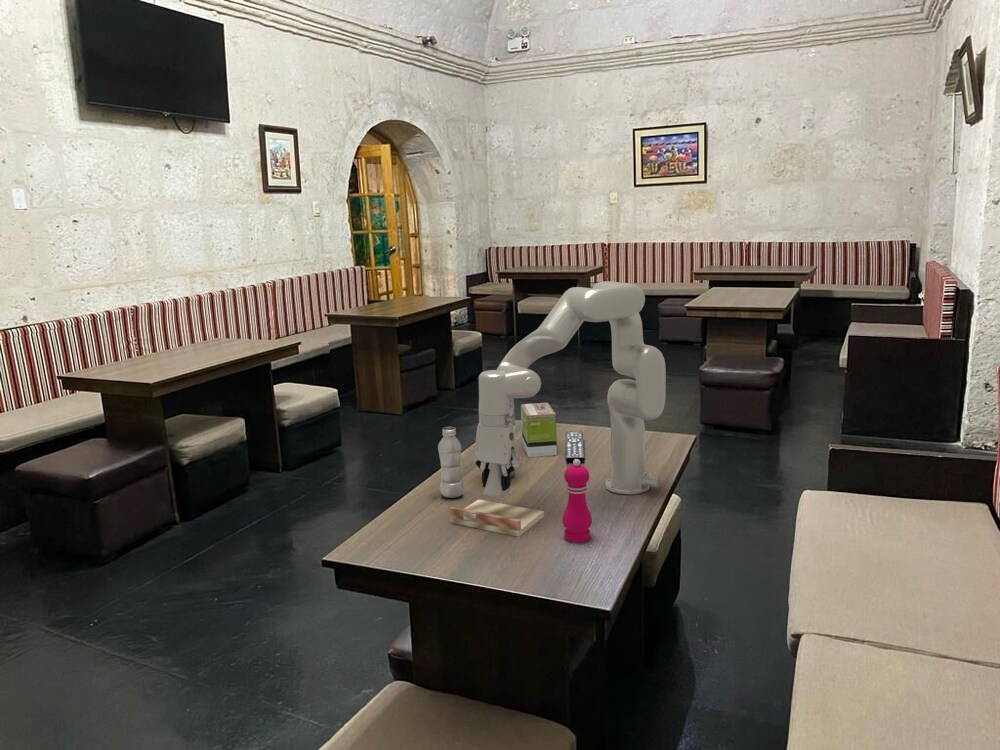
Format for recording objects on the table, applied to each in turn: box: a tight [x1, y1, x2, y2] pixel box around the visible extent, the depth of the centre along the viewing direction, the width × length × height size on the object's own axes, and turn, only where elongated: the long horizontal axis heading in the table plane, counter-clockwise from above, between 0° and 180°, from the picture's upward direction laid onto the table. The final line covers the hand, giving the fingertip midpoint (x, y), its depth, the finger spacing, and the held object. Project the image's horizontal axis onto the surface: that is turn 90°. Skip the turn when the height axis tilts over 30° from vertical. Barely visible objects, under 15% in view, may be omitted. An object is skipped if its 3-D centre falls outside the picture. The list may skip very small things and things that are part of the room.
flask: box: [482, 463, 511, 499], centre depth 193 cm, size 7×7×10 cm
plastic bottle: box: [437, 426, 465, 499], centre depth 211 cm, size 6×7×20 cm
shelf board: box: [449, 498, 545, 538], centre depth 195 cm, size 20×14×4 cm
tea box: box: [520, 402, 558, 458], centre depth 251 cm, size 15×10×15 cm, turn 6°
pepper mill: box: [561, 458, 593, 544], centre depth 181 cm, size 7×7×20 cm
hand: (496, 486), depth 193 cm, fingers closed on flask, 4 cm apart
